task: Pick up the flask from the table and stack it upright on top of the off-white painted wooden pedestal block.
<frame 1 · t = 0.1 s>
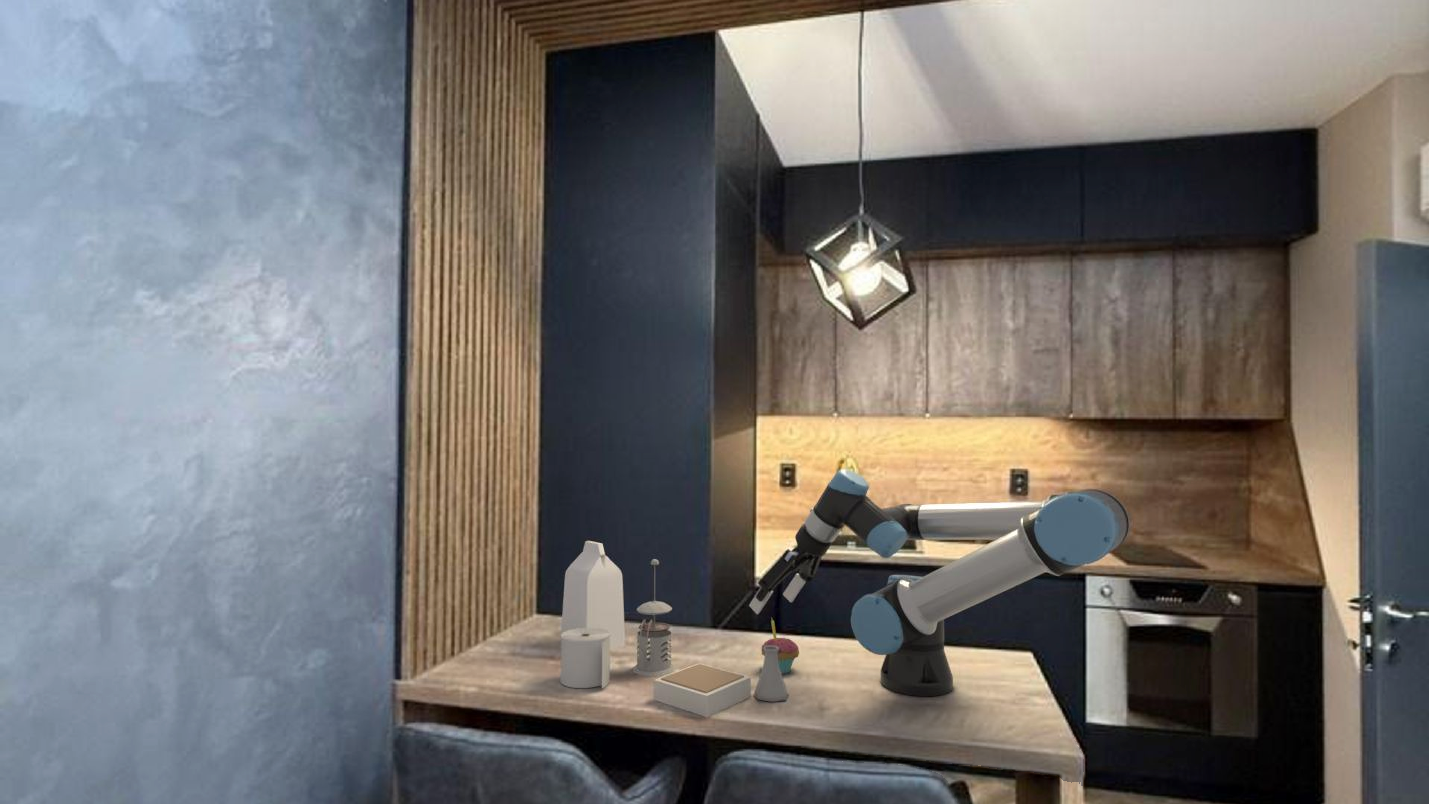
hand: (771, 603, 167), 15 cm above the table, tool tilted 35°, fingers open, 13 cm apart
toilet tissue: (588, 681, 160), on the table
french press: (652, 671, 167), on the table
cupcake: (780, 670, 168), on the table
flask: (771, 697, 152), on the table
milk: (592, 646, 186), on the table
pedestal: (702, 698, 150), on the table
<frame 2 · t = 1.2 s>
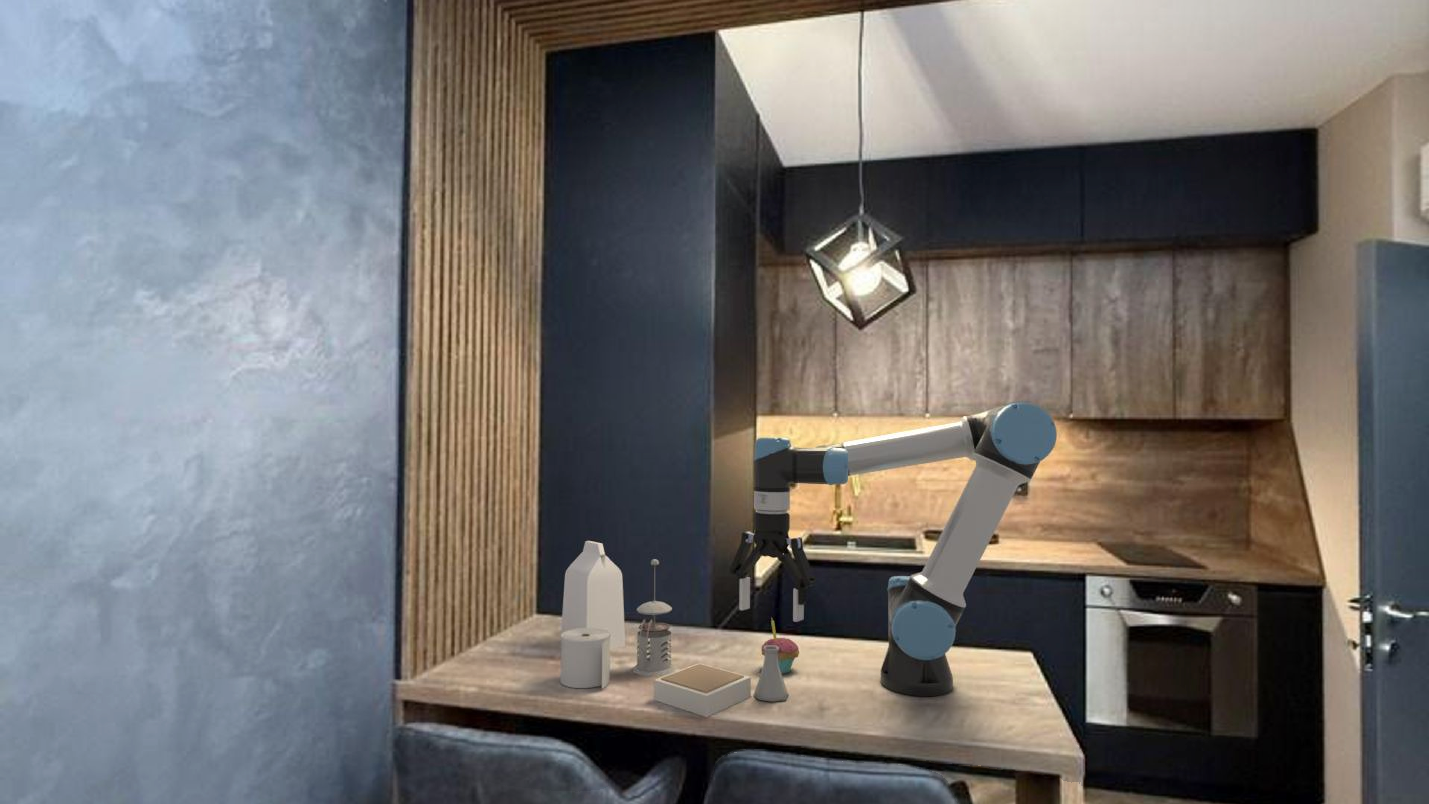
hand: (770, 614, 152), 17 cm above the table, tool pointing down, fingers open, 13 cm apart
nothing on the table moved.
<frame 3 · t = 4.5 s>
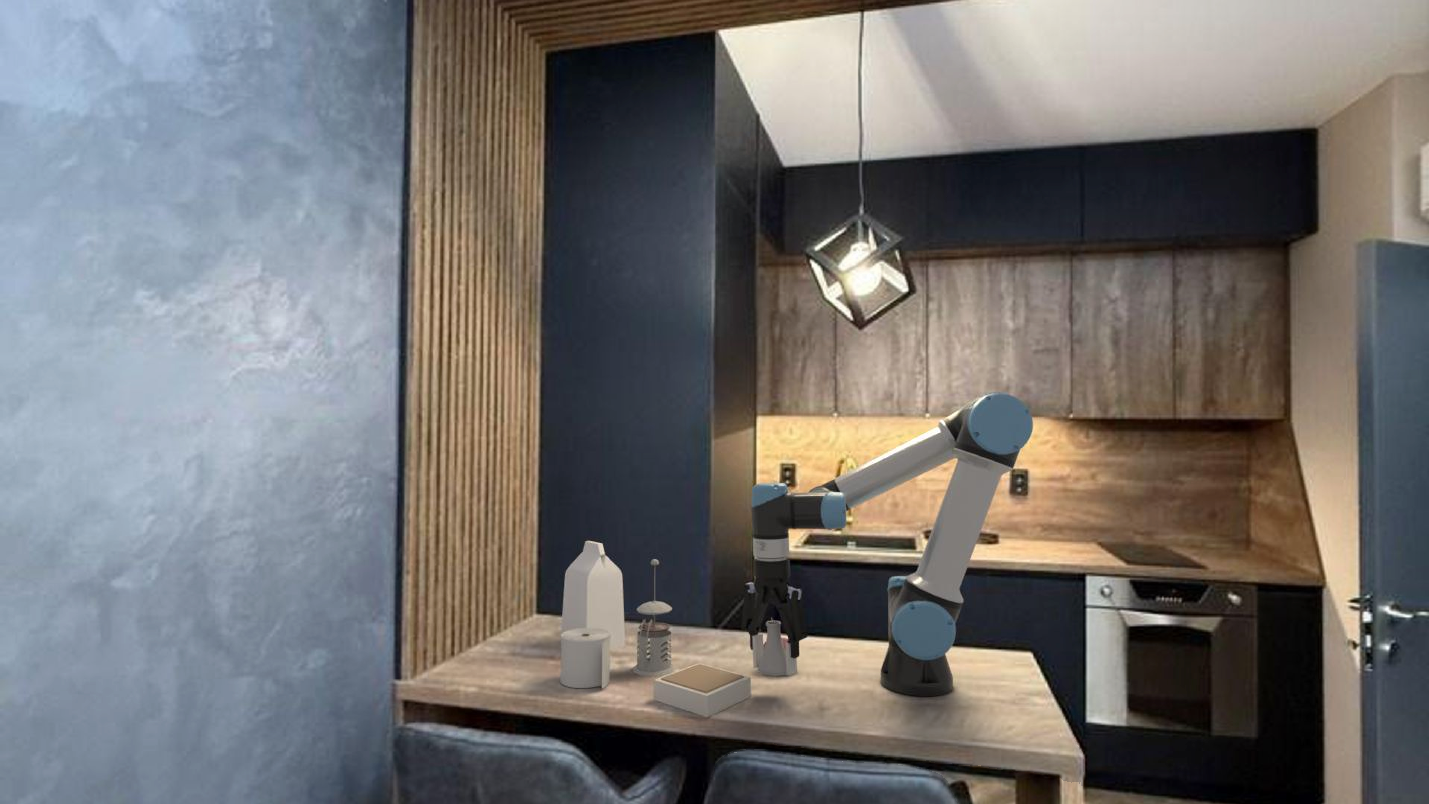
hand: (774, 669, 152), 5 cm above the table, tool pointing down, fingers closed on flask, 8 cm apart
flask: (775, 672, 152), point 5 cm above the table, touching gripper
everything else where it was.
when the fingers open (5 cm above the table, at t = 9.1 s): flask stays where it is, resting on pedestal.
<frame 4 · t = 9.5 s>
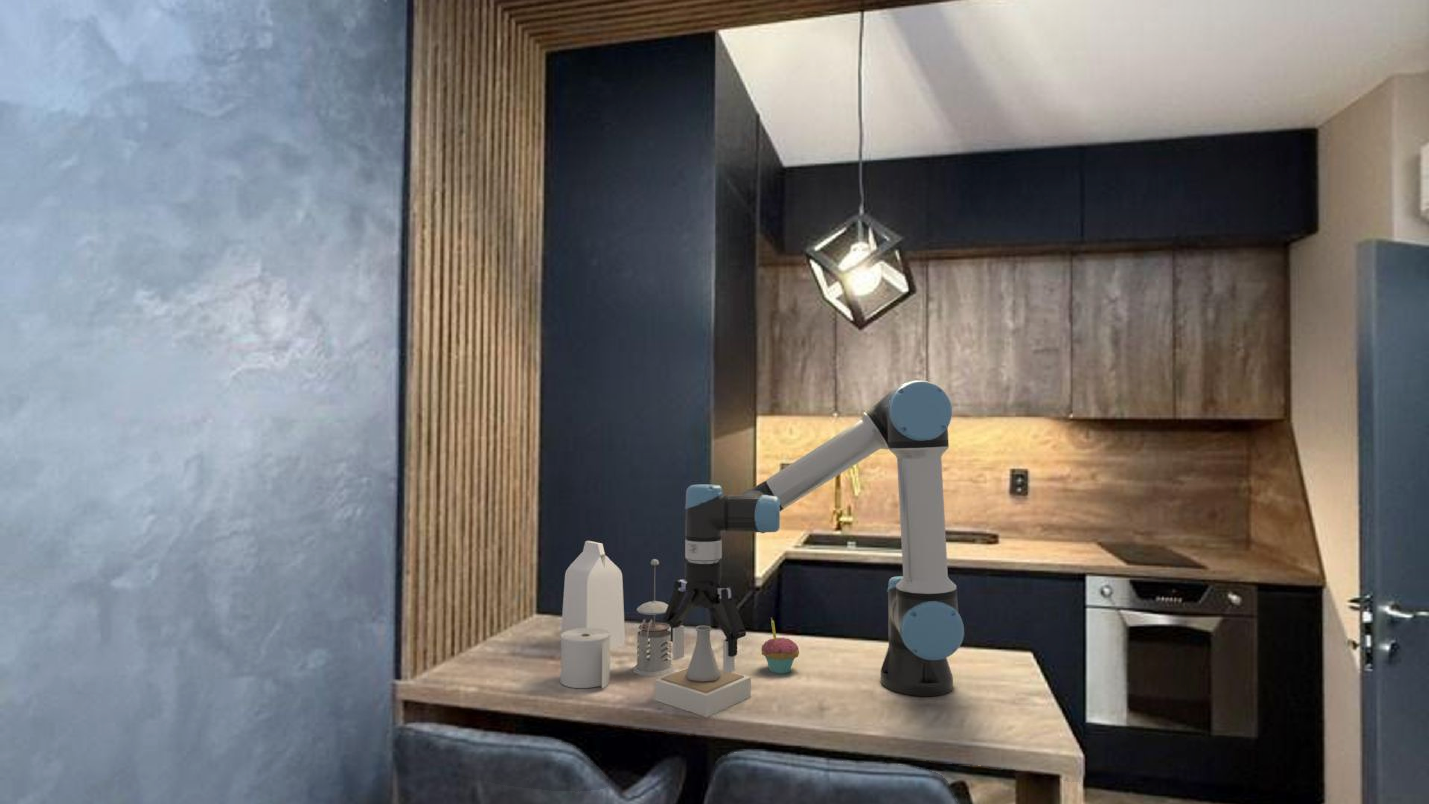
hand: (702, 665, 150), 7 cm above the table, tool pointing down, fingers open, 13 cm apart
flask: (703, 677, 150), point 4 cm above the table, touching pedestal
everything else where it was.
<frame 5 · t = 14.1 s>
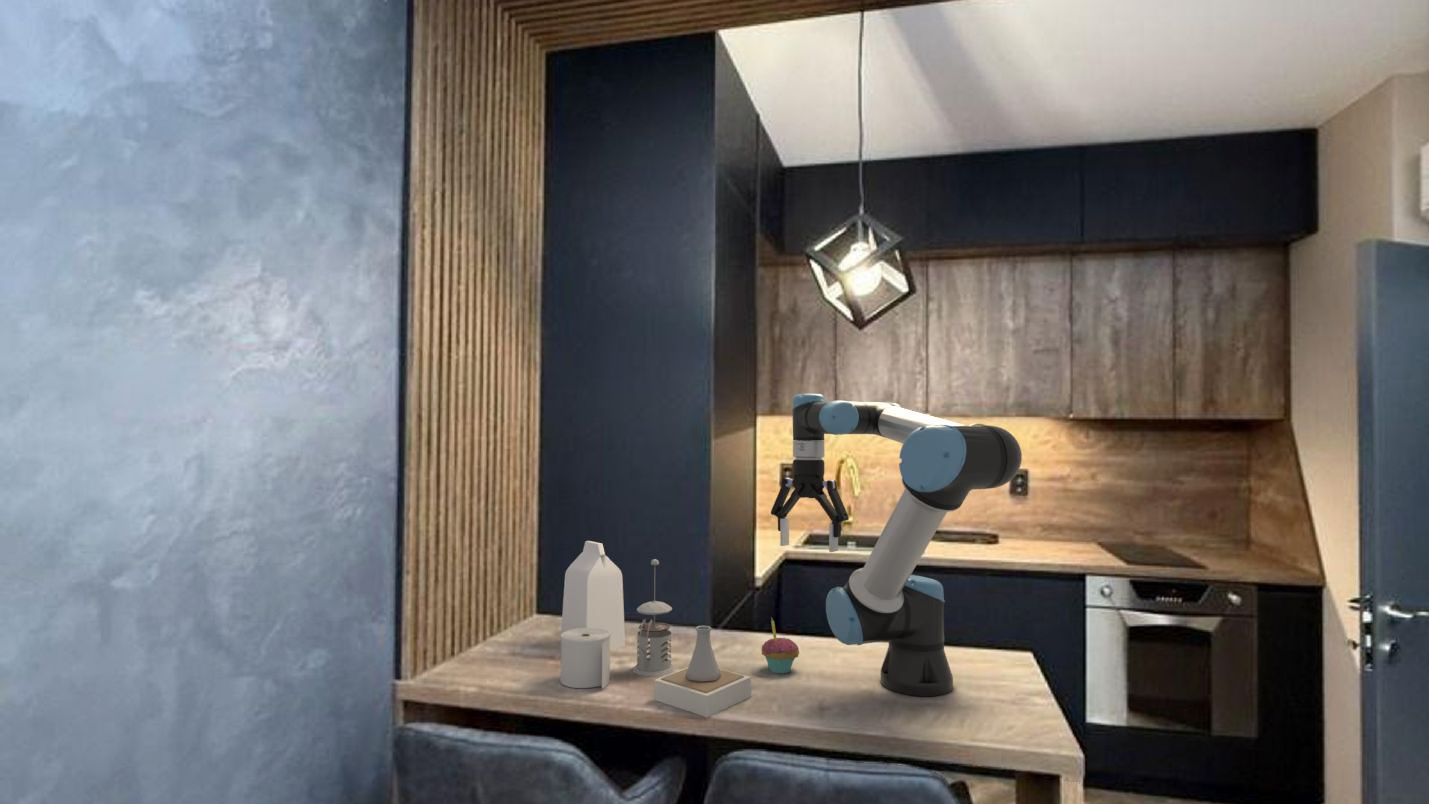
hand: (808, 548, 175), 27 cm above the table, tool pointing down, fingers open, 13 cm apart
nothing on the table moved.
at the end: flask inside the target area on the pedestal (0.1 cm from its centre), point 4.1 cm above the pedestal's base; flask tilted 0°; the gripper is holding nothing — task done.
